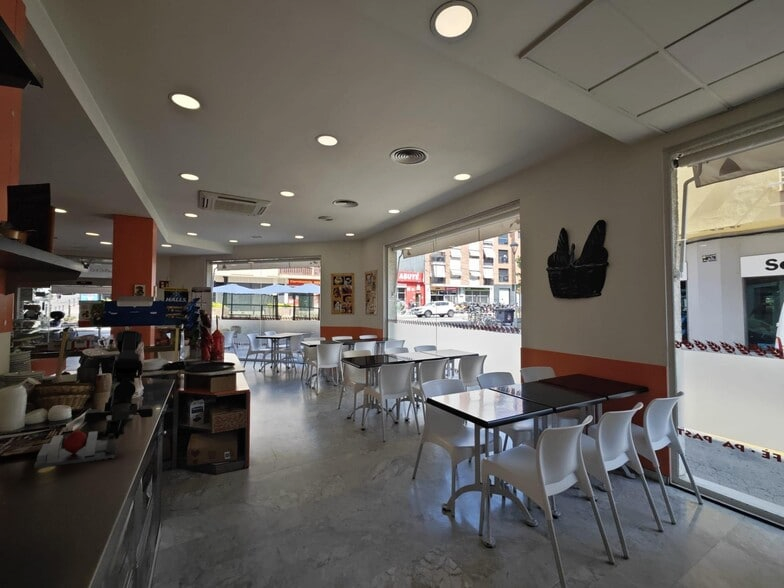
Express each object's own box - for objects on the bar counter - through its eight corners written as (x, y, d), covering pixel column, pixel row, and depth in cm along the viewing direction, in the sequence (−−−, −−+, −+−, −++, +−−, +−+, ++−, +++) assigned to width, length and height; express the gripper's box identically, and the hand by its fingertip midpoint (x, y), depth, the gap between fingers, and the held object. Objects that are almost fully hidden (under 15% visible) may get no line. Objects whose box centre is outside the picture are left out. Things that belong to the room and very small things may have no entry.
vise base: (41, 454, 114) (44, 435, 115) (114, 446, 126) (117, 429, 127) (34, 468, 105) (37, 447, 106) (114, 458, 117) (117, 439, 117)
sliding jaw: (86, 446, 120) (88, 432, 121) (112, 444, 124) (114, 429, 125) (84, 456, 113) (86, 440, 114) (111, 453, 117) (114, 437, 118)
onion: (71, 458, 112) (75, 432, 112) (56, 455, 113) (60, 429, 113) (89, 451, 117) (93, 427, 118) (75, 449, 118) (79, 424, 119)
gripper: (86, 400, 111) (78, 450, 110) (156, 396, 122) (150, 442, 121) (88, 392, 120) (81, 439, 118) (154, 389, 131) (148, 432, 130)
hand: (116, 438), depth 122 cm, fingers closed
